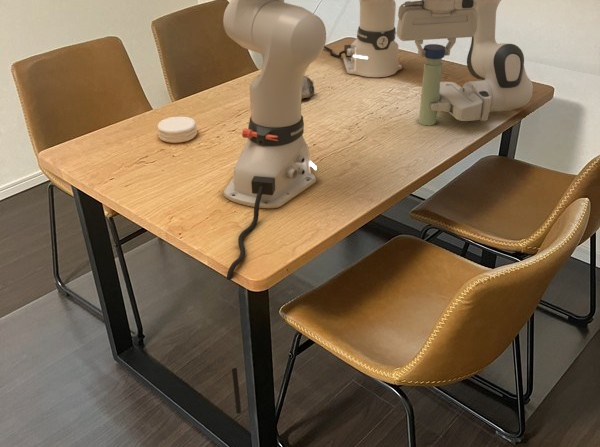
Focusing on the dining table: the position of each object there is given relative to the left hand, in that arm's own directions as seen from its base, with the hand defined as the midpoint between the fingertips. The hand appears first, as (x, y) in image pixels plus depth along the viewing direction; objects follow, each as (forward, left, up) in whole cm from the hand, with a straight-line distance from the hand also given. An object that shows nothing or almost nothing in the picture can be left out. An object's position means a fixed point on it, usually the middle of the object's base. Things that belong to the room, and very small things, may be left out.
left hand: (433, 55), depth 159 cm
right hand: (0, +1, -13) cm, 13 cm away
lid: (0, 0, +2) cm, 2 cm away
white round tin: (-35, +57, -18) cm, 69 cm away
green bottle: (0, 0, -18) cm, 18 cm away
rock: (+4, +43, -18) cm, 47 cm away
